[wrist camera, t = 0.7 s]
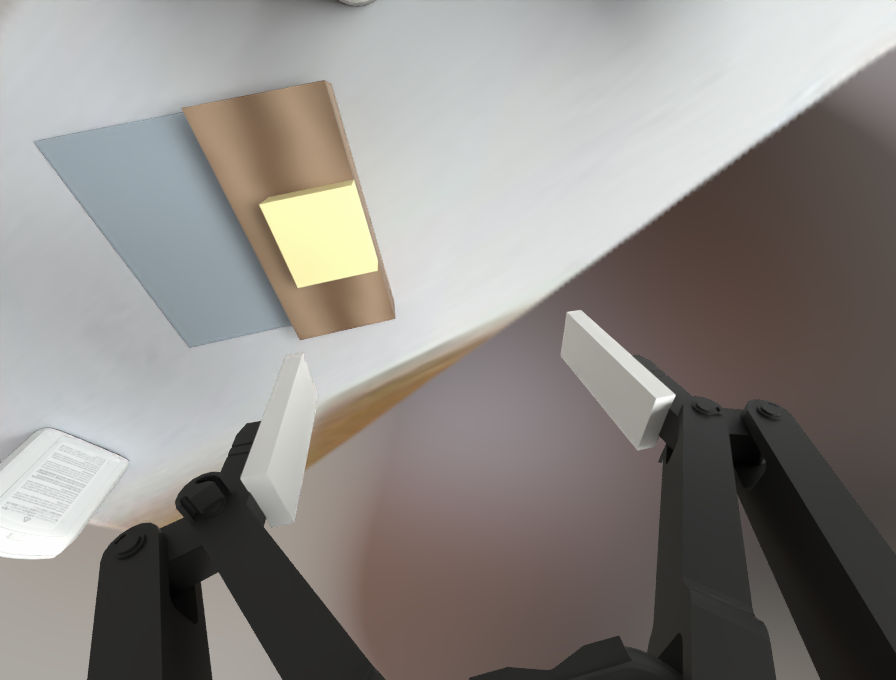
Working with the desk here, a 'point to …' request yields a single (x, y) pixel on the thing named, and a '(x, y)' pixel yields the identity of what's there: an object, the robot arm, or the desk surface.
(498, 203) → the desk surface
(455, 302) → the desk surface
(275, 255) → the brown wooden block
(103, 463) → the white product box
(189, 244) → the rubber mat
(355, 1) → the travel mug
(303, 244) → the note pad
